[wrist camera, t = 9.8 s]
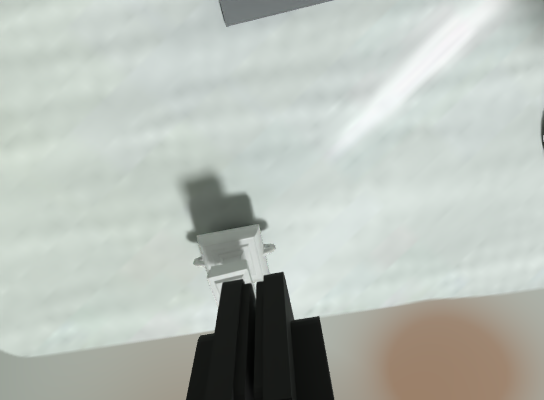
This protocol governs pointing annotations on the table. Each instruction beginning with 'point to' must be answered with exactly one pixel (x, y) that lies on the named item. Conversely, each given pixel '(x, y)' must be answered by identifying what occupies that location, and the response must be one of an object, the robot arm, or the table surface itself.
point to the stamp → (233, 257)
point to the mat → (260, 8)
